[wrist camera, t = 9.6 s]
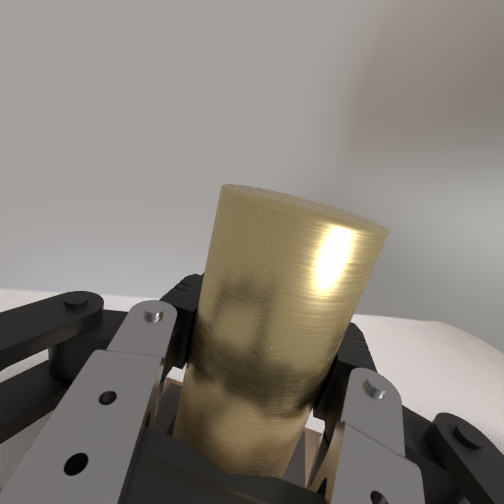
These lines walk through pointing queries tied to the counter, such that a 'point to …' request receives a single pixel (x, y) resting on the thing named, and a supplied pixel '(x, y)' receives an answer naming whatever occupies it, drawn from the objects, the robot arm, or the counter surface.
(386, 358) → the counter surface
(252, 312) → the post
